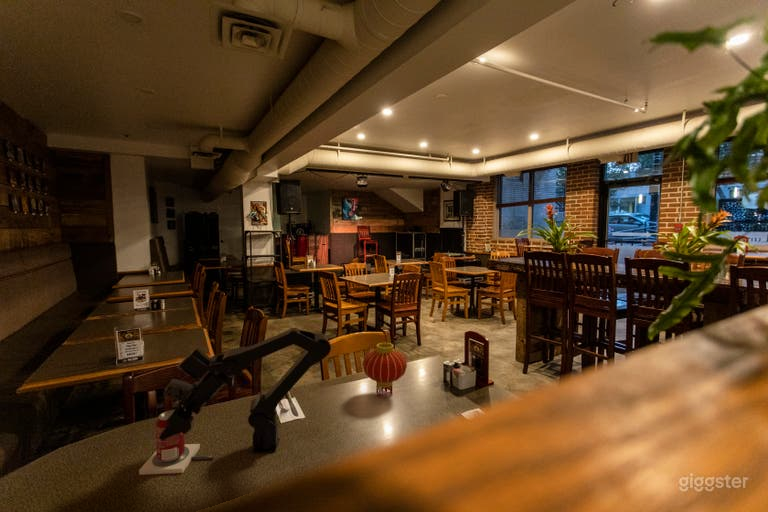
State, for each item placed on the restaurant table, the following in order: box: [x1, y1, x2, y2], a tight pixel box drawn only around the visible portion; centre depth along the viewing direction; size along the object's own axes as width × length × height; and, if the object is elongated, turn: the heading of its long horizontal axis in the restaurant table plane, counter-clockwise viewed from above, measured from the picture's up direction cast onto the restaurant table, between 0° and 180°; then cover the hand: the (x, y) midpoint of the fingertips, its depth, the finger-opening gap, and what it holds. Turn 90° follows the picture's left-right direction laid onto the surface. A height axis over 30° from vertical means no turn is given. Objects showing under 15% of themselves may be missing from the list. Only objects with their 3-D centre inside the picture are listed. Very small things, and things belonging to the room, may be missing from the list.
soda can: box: [155, 409, 186, 462], centre depth 101 cm, size 7×7×12 cm
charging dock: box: [138, 443, 215, 476], centre depth 102 cm, size 17×11×2 cm, turn 95°
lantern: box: [362, 320, 408, 398], centre depth 141 cm, size 17×17×30 cm
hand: (164, 430), depth 101 cm, fingers open, 7 cm apart
